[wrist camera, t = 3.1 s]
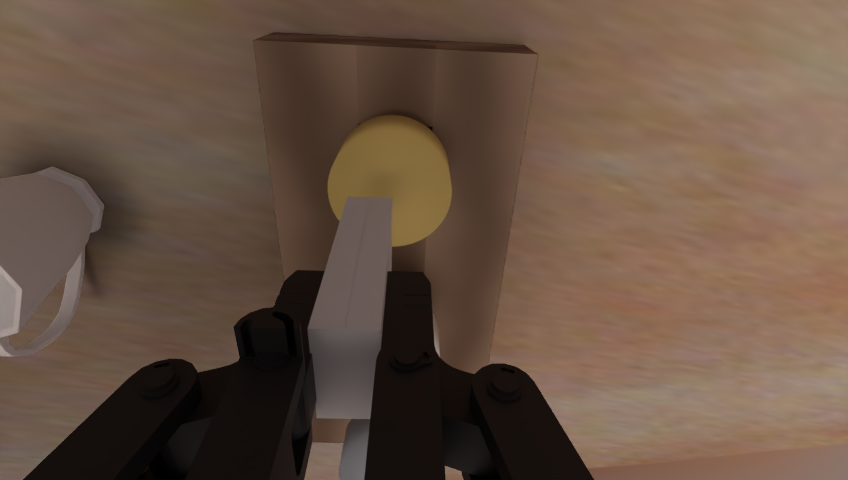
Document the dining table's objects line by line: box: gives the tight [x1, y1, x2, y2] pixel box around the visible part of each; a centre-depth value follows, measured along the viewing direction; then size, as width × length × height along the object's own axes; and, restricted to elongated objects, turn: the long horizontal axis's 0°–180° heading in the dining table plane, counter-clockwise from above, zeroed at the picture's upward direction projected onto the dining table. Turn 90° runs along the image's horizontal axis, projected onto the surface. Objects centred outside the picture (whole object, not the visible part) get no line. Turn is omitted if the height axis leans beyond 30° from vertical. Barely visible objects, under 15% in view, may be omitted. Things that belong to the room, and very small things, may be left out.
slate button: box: [339, 419, 370, 480], centre depth 27 cm, size 5×5×5 cm
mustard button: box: [328, 115, 452, 247], centre depth 21 cm, size 5×5×5 cm
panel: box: [253, 33, 538, 443], centre depth 27 cm, size 12×26×3 cm, turn 177°
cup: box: [0, 166, 104, 357], centre depth 23 cm, size 7×10×8 cm
